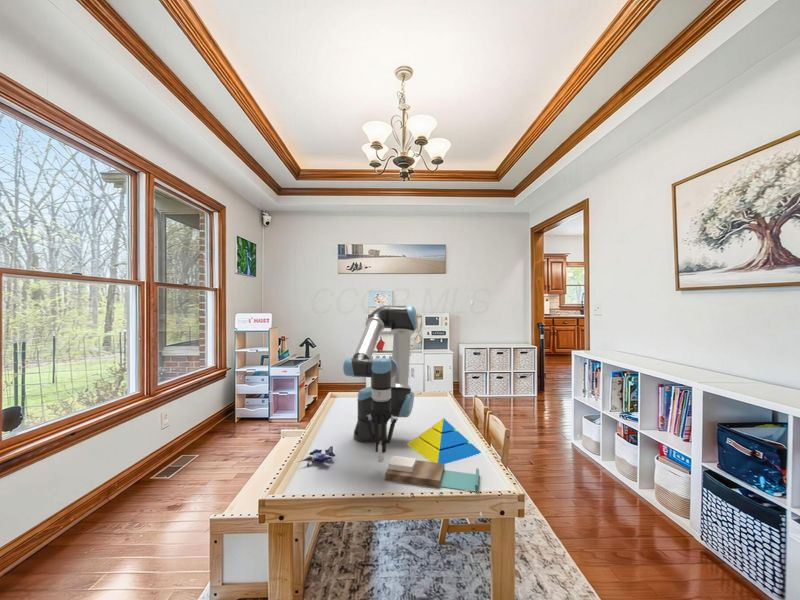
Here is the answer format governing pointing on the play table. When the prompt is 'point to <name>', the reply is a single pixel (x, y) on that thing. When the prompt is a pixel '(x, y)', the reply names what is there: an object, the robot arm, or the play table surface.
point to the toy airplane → (320, 456)
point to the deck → (419, 474)
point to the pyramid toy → (443, 444)
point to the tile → (402, 464)
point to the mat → (460, 480)
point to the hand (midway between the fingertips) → (380, 460)
